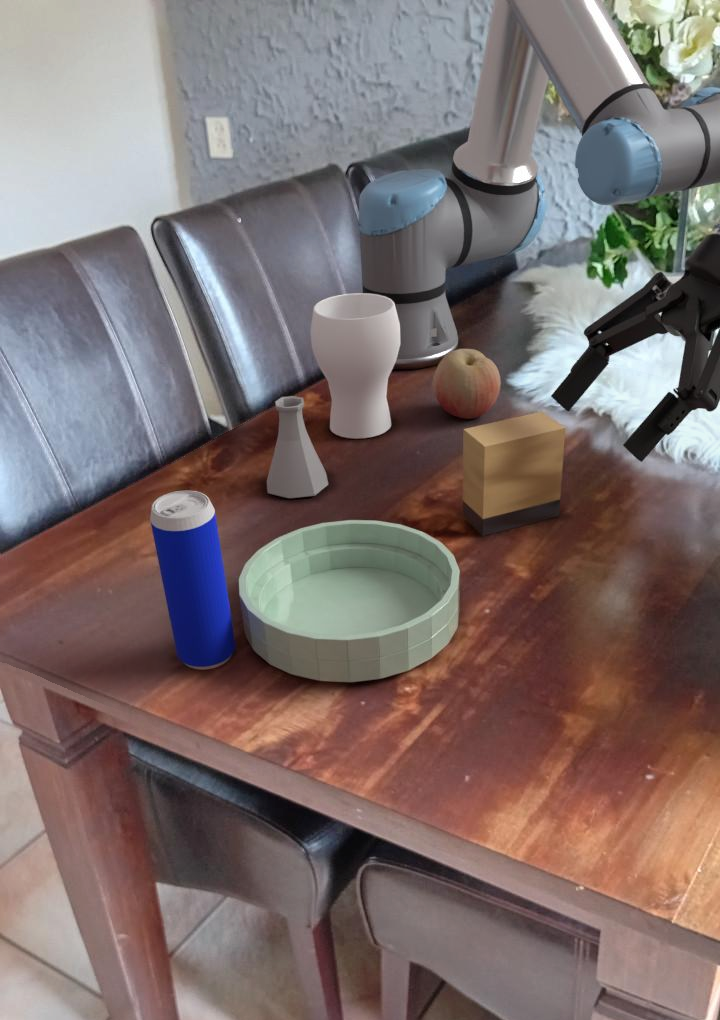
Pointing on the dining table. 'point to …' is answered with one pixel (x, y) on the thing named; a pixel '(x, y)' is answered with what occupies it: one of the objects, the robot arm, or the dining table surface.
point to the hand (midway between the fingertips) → (593, 428)
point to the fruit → (466, 383)
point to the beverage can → (193, 578)
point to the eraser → (512, 472)
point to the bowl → (350, 600)
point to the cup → (356, 359)
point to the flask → (294, 455)
